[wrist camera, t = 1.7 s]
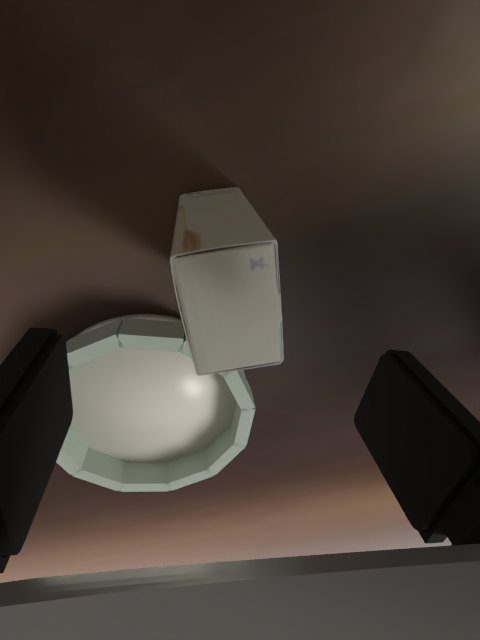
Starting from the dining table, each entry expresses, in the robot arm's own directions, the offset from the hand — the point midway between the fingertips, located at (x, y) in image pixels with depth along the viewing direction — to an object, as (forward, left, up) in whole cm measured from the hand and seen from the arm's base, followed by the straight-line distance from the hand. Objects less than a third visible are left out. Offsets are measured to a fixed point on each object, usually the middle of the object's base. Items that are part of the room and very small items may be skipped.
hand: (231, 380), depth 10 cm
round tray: (+4, +16, -17) cm, 23 cm away
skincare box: (0, 0, -17) cm, 17 cm away
